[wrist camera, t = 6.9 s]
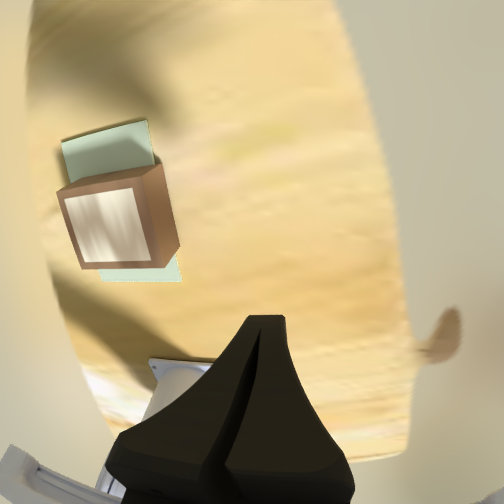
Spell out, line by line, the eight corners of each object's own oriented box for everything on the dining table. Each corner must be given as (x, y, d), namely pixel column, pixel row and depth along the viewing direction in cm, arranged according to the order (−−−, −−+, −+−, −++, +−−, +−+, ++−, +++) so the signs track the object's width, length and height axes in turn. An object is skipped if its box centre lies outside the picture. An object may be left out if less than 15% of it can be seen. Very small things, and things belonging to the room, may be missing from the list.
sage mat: (182, 279, 24) (181, 281, 24) (104, 279, 26) (102, 281, 25) (146, 119, 19) (144, 120, 18) (63, 142, 20) (60, 143, 20)
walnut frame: (164, 268, 20) (81, 269, 21) (180, 246, 23) (101, 249, 24) (141, 176, 17) (55, 191, 18) (162, 163, 20) (80, 178, 21)
